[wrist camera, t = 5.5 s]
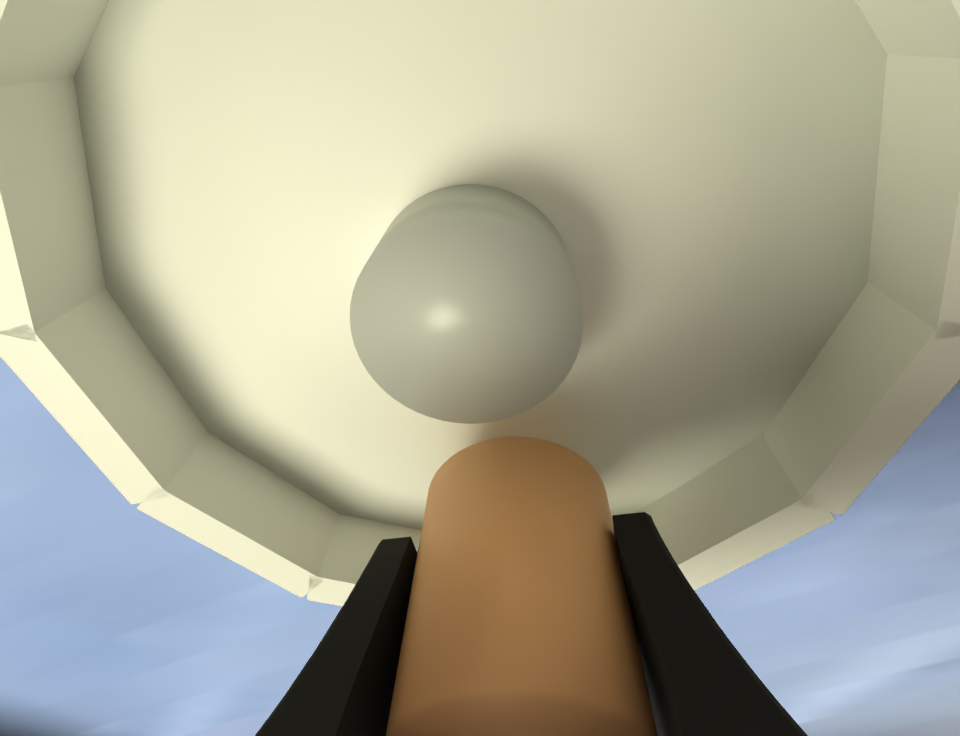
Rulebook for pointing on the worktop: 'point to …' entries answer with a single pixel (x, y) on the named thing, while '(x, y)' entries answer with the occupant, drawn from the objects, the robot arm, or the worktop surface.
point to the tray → (565, 99)
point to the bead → (519, 604)
